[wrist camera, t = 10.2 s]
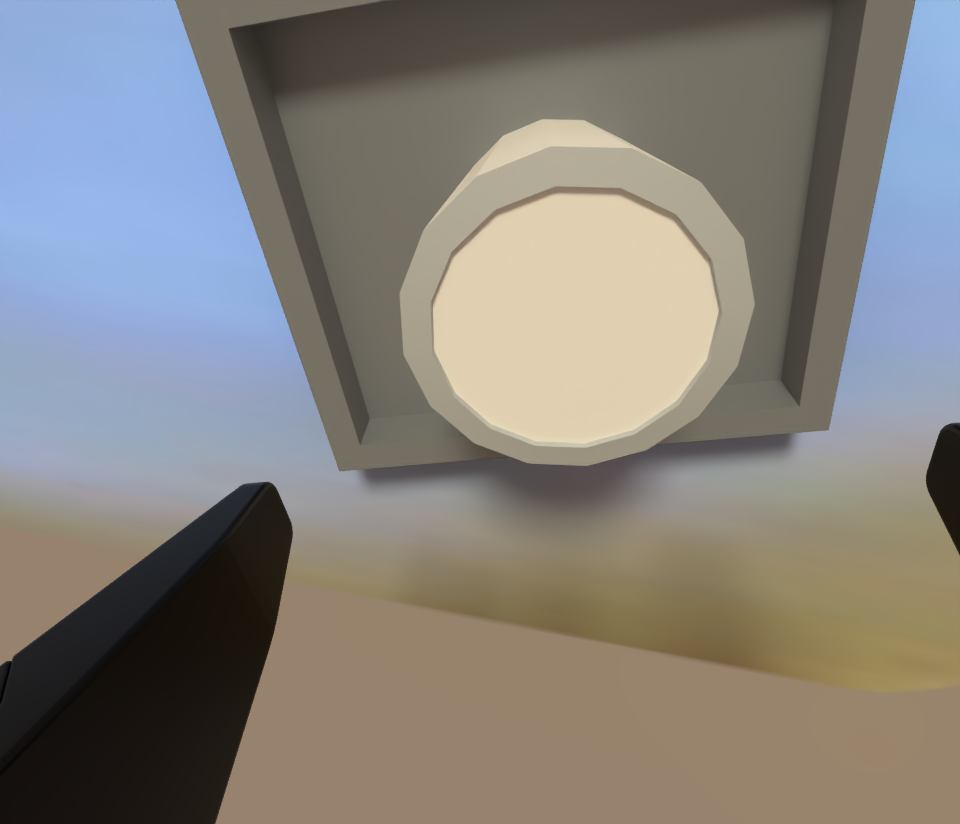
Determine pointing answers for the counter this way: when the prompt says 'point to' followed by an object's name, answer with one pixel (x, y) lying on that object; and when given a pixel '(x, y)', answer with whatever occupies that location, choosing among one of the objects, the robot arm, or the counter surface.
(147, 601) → the robot arm
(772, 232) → the tray
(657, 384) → the cream cup
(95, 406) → the counter surface
